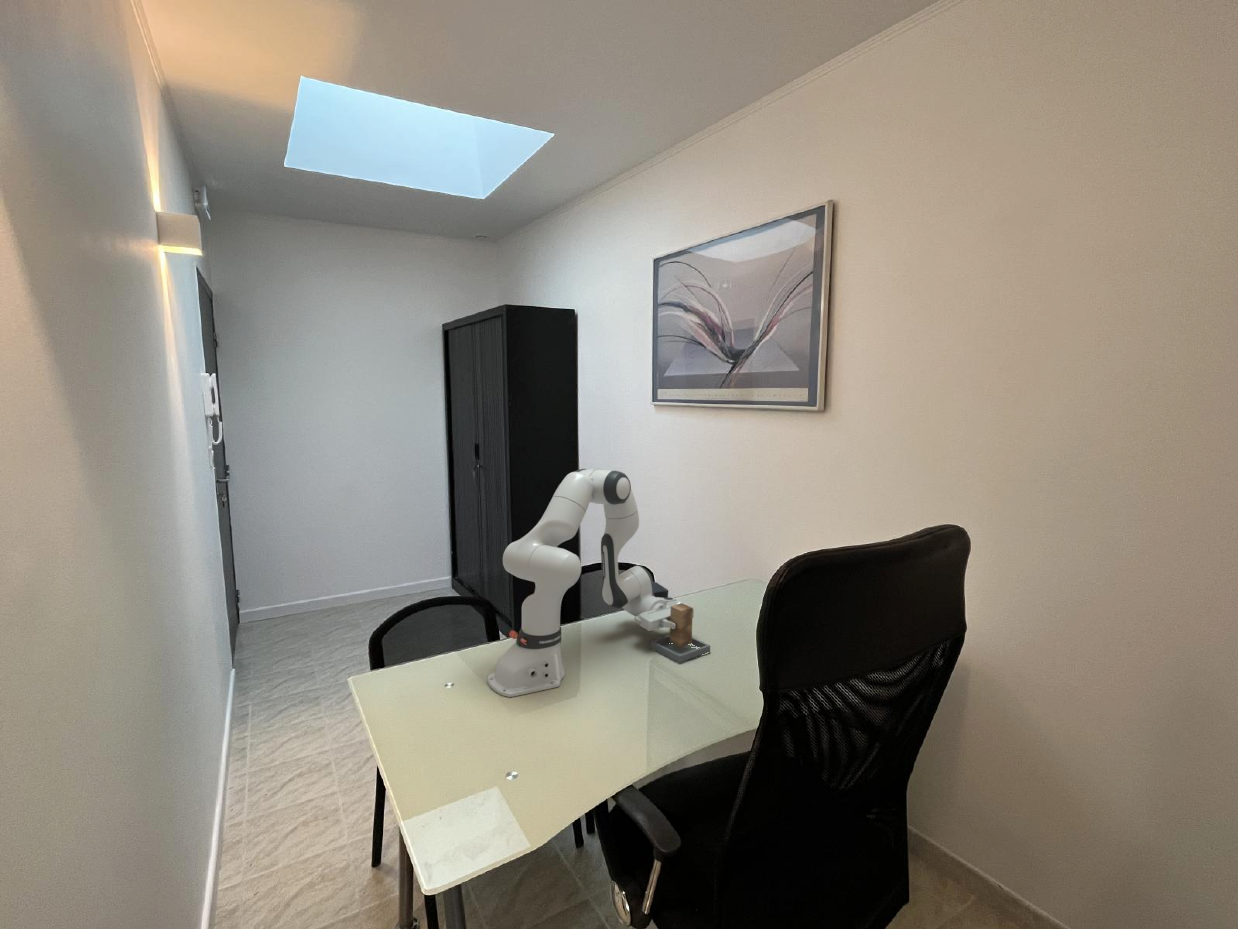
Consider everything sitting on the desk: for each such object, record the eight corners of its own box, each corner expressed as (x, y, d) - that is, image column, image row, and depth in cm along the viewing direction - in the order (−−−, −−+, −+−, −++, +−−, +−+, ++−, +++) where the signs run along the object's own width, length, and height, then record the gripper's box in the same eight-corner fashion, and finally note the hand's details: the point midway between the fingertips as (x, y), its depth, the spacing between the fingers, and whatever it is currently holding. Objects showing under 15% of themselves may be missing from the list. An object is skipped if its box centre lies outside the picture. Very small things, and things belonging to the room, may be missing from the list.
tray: (679, 664, 184) (679, 656, 184) (650, 648, 195) (650, 641, 194) (710, 653, 192) (710, 645, 192) (680, 638, 203) (681, 631, 203)
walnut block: (680, 647, 190) (681, 611, 188) (669, 641, 194) (670, 606, 192) (691, 643, 193) (692, 607, 191) (680, 638, 197) (681, 603, 195)
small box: (640, 609, 229) (640, 583, 228) (654, 607, 232) (655, 581, 231) (652, 619, 220) (653, 591, 219) (668, 616, 223) (669, 589, 221)
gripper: (631, 608, 196) (659, 622, 185) (676, 596, 208) (705, 608, 197) (630, 627, 197) (658, 641, 186) (676, 613, 209) (704, 626, 198)
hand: (683, 624), depth 192 cm, fingers closed on walnut block, 5 cm apart
